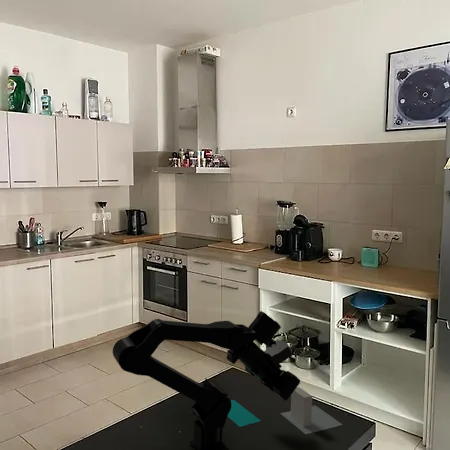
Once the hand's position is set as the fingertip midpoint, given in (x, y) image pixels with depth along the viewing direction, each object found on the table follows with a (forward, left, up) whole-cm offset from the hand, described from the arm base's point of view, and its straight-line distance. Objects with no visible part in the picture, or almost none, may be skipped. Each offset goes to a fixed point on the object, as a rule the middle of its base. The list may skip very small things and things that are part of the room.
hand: (289, 392), depth 122 cm
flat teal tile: (-7, +13, -10) cm, 18 cm away
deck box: (+4, -1, -9) cm, 10 cm away
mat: (+7, -2, -9) cm, 12 cm away
